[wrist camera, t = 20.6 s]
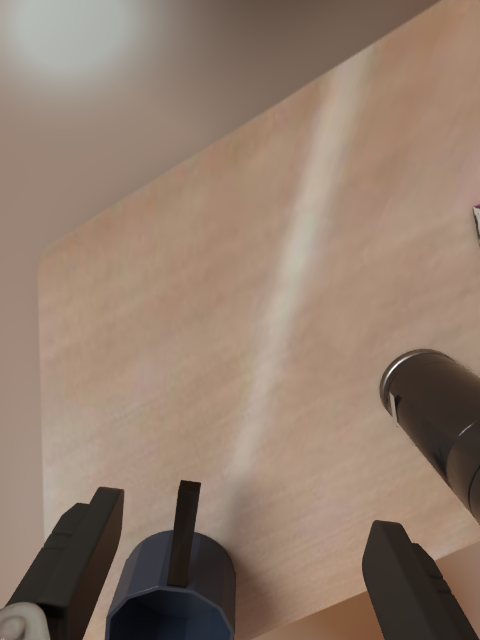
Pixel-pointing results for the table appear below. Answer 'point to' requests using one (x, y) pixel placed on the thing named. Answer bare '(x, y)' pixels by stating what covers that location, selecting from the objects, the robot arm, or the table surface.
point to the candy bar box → (477, 219)
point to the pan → (175, 584)
